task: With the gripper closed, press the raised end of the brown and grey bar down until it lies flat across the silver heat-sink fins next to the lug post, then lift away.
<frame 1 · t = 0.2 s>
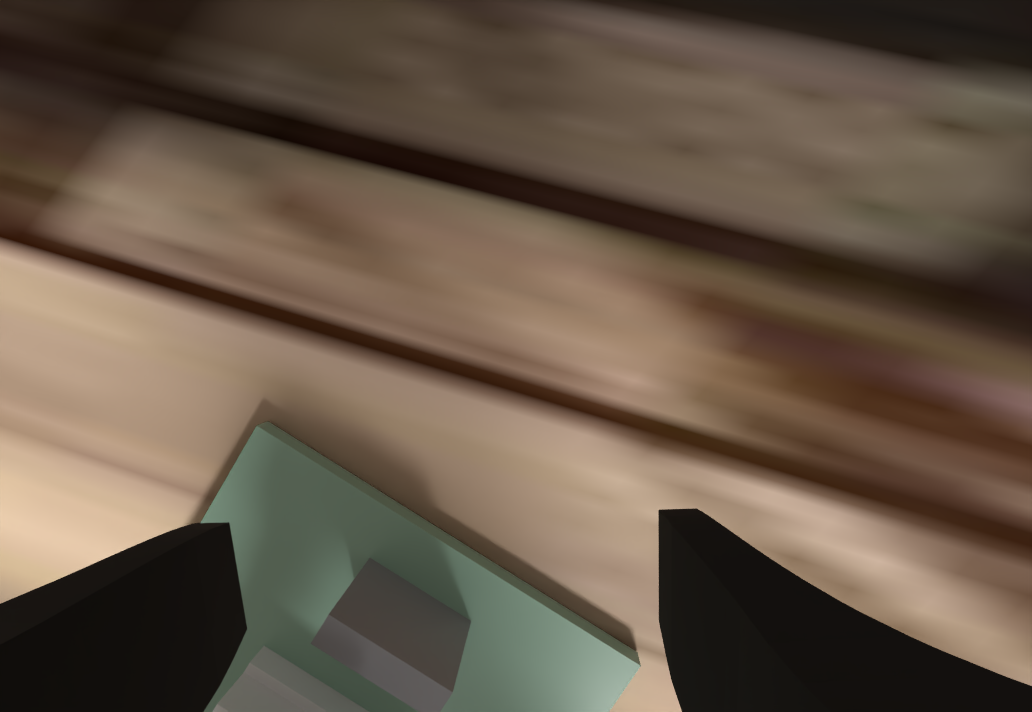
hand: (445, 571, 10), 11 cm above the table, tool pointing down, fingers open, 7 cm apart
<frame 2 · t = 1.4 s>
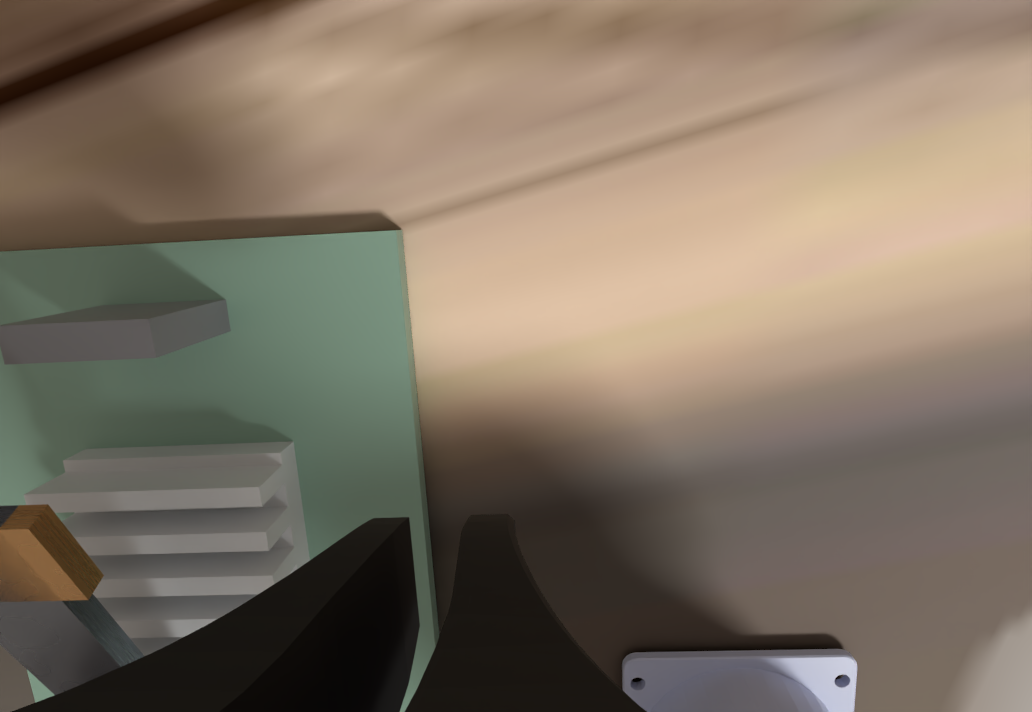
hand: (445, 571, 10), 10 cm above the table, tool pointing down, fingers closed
heatsink board: (218, 530, 22), on the table
brown and grey bar: (103, 679, 16), point 6 cm above the table, hinge at 24.0°
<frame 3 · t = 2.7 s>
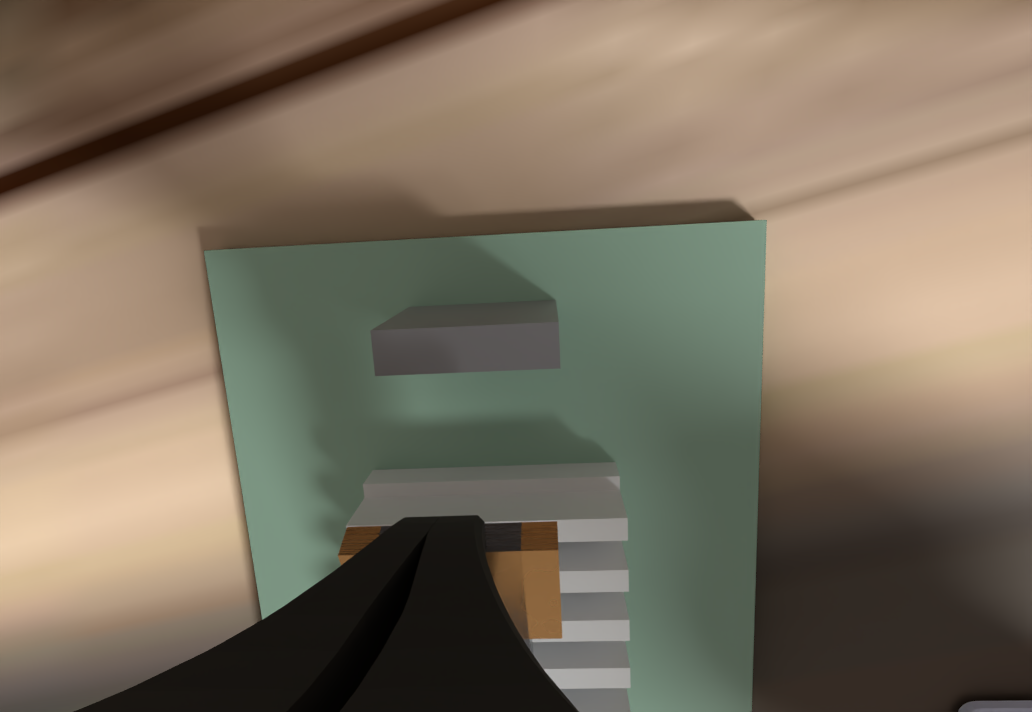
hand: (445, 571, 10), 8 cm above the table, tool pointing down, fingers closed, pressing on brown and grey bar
heatsink board: (501, 561, 19), on the table
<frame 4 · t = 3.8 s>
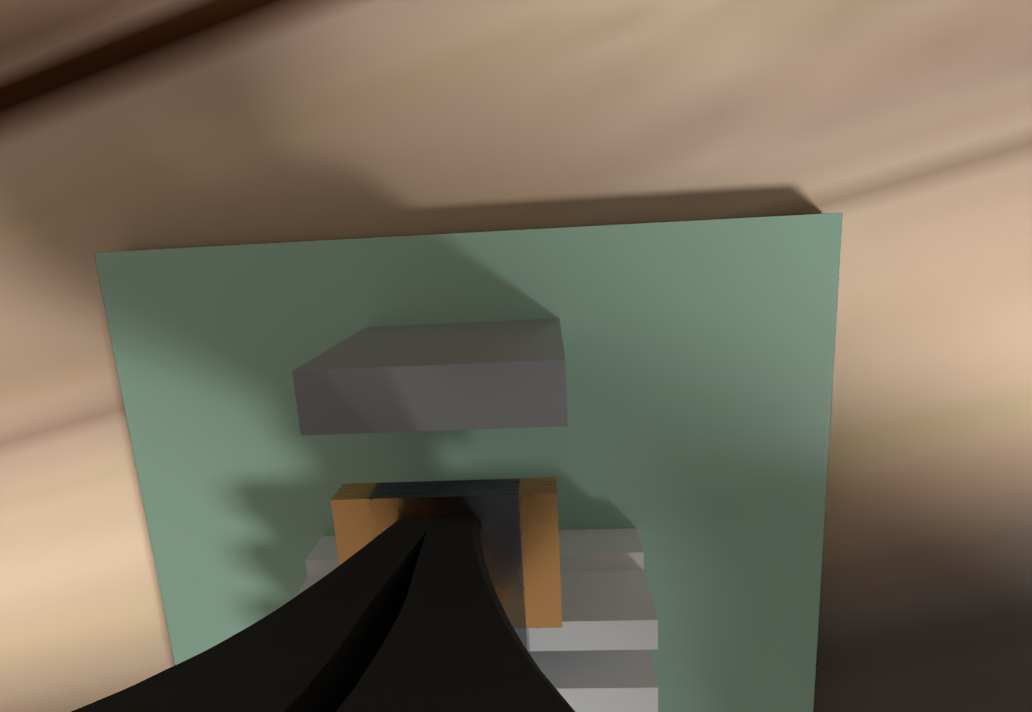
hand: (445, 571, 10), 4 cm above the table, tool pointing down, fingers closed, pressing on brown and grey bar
heatsink board: (489, 646, 15), on the table
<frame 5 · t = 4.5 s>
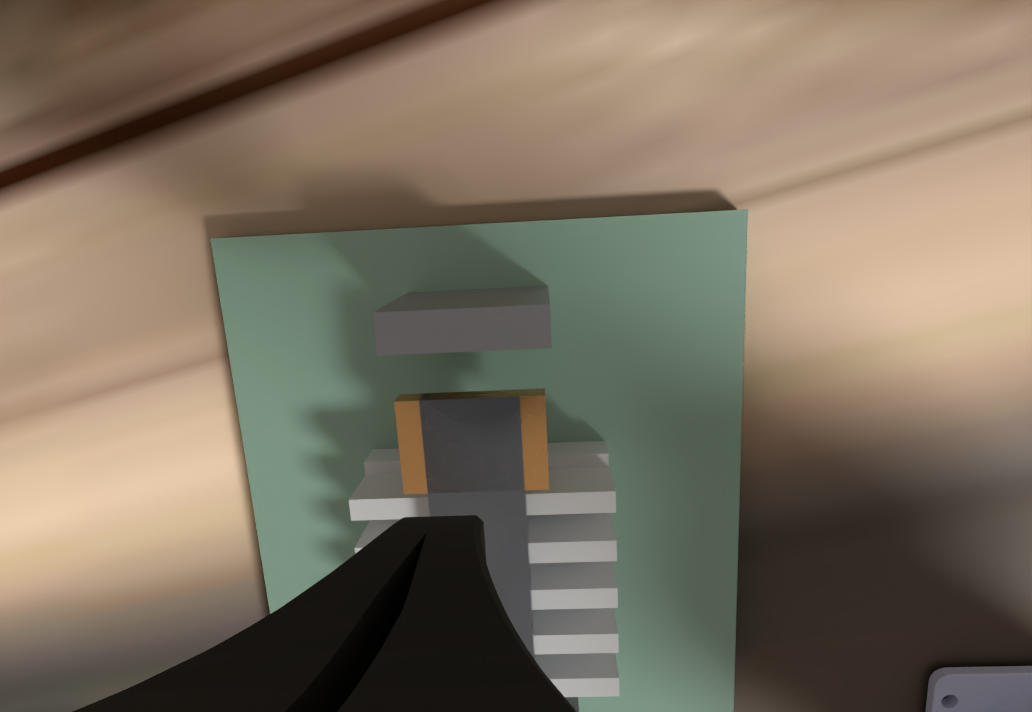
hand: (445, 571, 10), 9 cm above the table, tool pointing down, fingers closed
heatsink board: (496, 537, 20), on the table
brown and grey bar: (487, 627, 16), point 4 cm above the table, hinge at 0.8°
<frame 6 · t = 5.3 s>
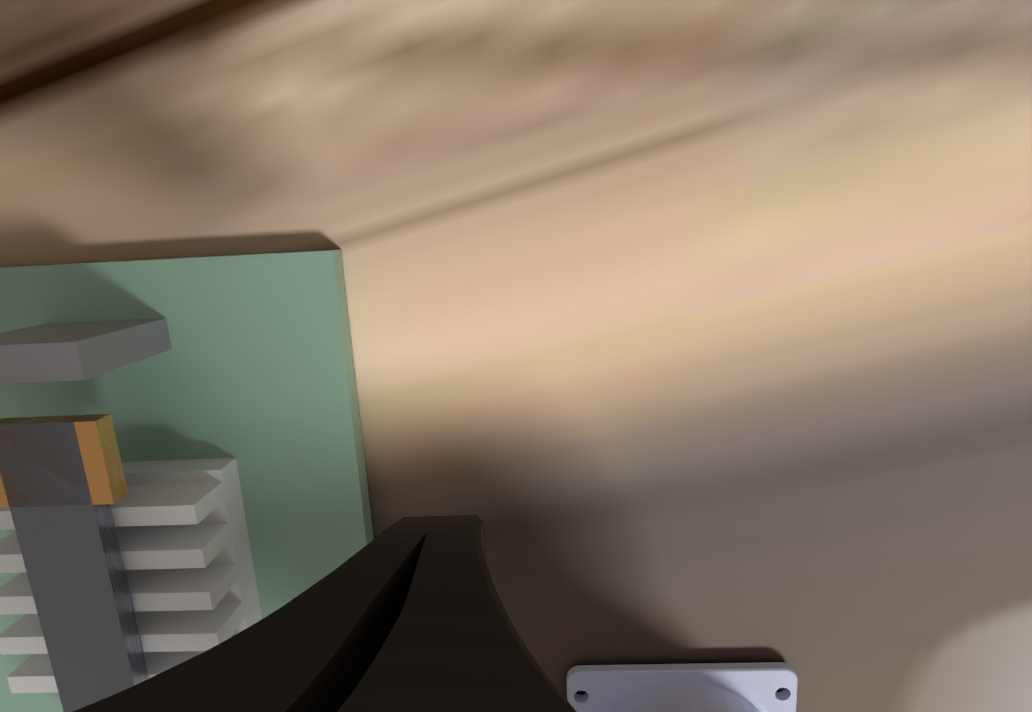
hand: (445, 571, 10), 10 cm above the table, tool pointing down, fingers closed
heatsink board: (165, 545, 22), on the table
brown and grey bar: (90, 626, 18), point 4 cm above the table, hinge at 0.8°
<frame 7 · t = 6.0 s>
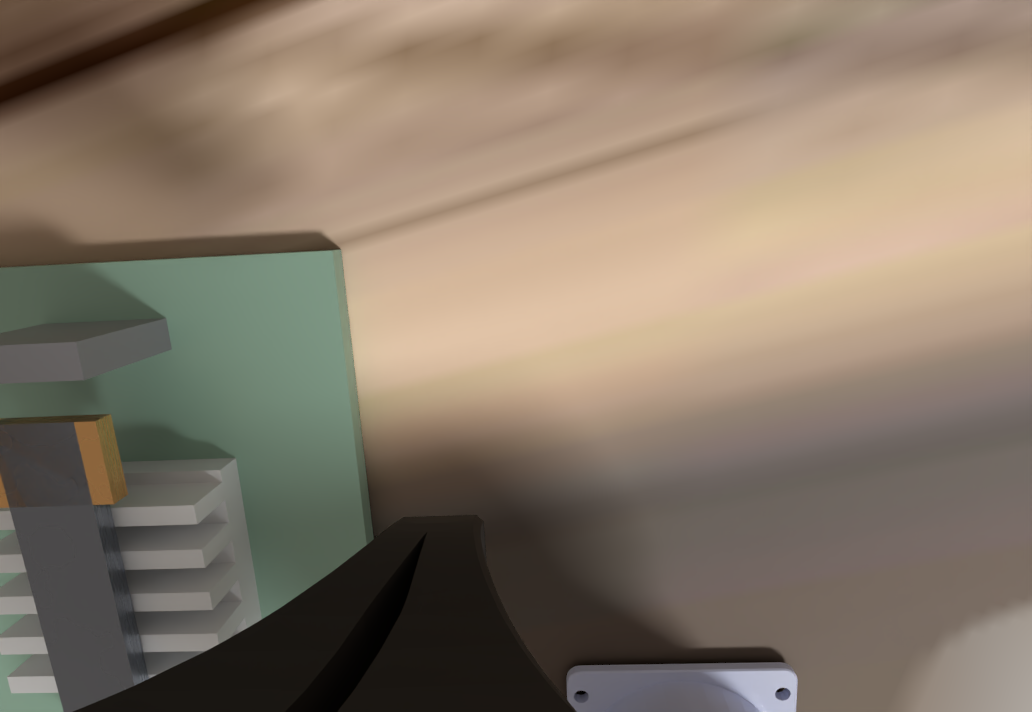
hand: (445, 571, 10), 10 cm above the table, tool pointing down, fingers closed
heatsink board: (165, 545, 22), on the table
brown and grey bar: (90, 627, 18), point 4 cm above the table, hinge at 0.8°
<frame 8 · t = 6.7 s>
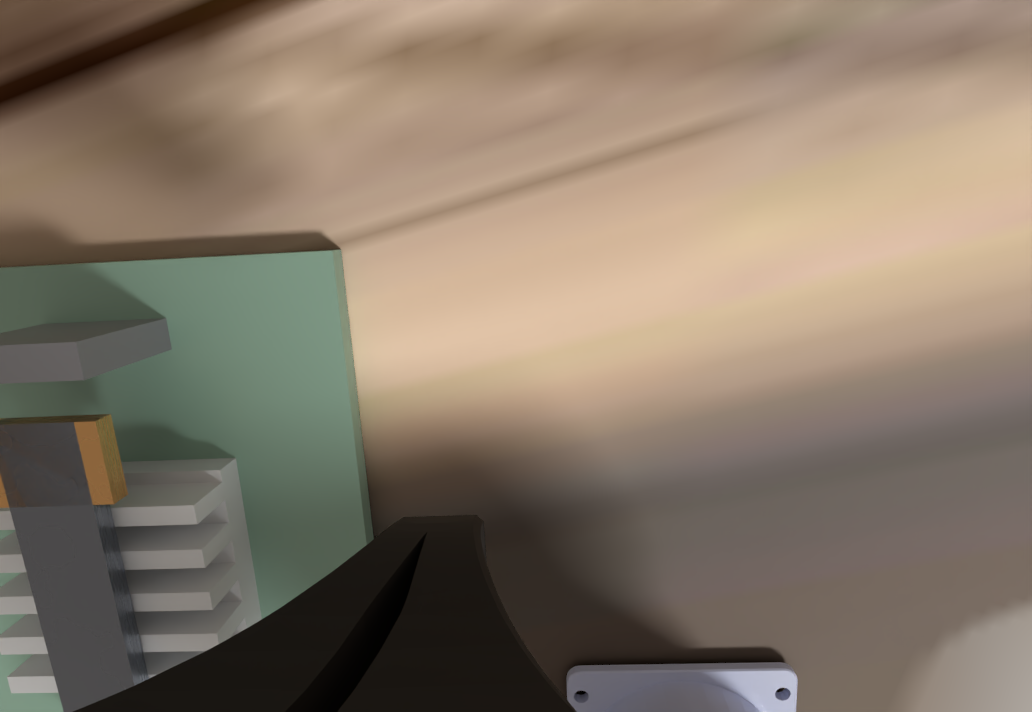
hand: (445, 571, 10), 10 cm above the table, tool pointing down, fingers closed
heatsink board: (165, 545, 22), on the table
brown and grey bar: (90, 627, 18), point 4 cm above the table, hinge at 0.8°
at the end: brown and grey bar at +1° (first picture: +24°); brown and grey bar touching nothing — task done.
